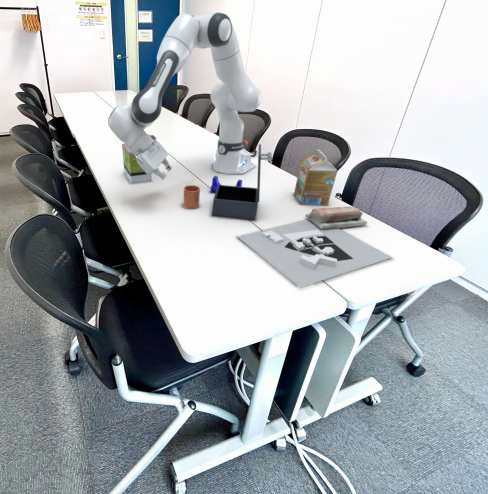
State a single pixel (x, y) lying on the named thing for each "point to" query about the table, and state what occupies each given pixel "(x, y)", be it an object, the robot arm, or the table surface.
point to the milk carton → (315, 180)
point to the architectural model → (312, 251)
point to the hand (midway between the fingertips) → (167, 173)
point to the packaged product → (336, 217)
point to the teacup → (191, 197)
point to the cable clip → (216, 183)
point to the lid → (269, 158)
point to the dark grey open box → (235, 202)
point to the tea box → (133, 167)
